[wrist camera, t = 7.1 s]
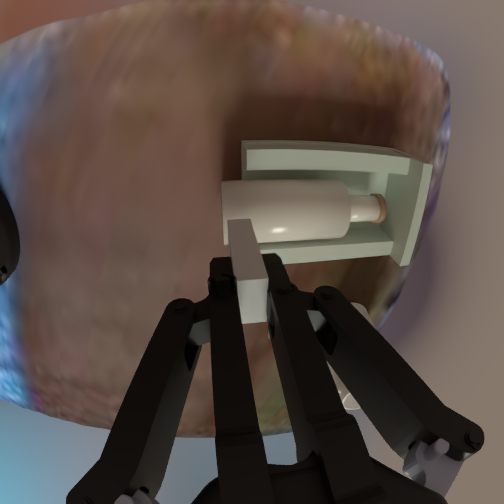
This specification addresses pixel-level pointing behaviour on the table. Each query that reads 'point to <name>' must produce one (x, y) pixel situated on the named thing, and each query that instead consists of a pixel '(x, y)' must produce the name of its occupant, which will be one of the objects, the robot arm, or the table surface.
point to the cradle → (357, 183)
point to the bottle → (297, 208)
